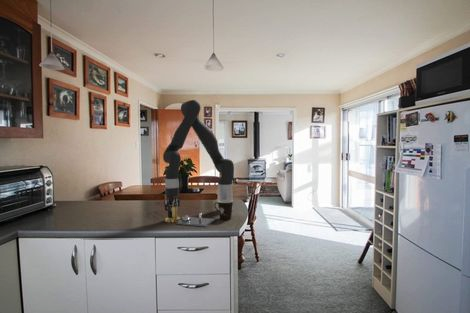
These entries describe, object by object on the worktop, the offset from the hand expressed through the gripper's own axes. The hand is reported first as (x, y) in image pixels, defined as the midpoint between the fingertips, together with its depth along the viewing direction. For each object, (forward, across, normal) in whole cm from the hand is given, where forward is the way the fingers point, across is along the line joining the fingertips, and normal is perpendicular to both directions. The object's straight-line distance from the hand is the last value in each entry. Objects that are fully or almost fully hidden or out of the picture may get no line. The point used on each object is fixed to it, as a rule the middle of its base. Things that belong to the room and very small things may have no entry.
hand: (172, 216), depth 156 cm
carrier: (+2, 0, +14) cm, 15 cm away
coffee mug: (+2, -13, +26) cm, 29 cm away
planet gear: (+2, 0, 0) cm, 2 cm away
